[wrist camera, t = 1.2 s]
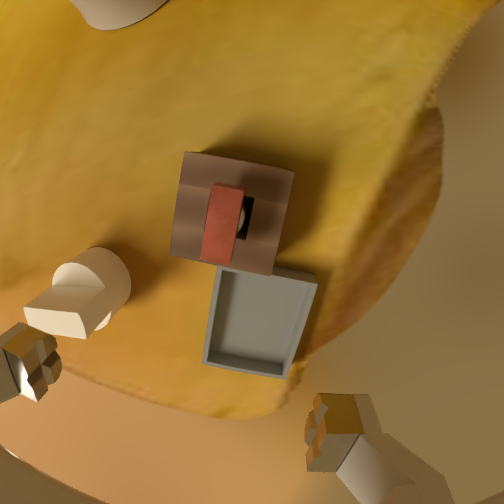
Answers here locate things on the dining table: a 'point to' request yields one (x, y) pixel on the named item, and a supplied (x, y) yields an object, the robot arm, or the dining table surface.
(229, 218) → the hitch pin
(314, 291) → the tray
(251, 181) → the wooden square hole block
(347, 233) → the dining table surface
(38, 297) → the base with upright slab
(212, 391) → the dining table surface
